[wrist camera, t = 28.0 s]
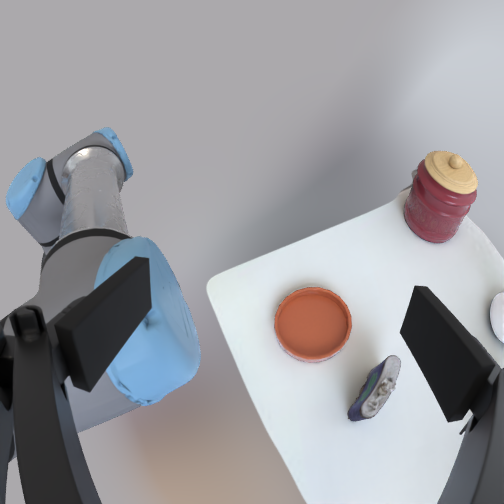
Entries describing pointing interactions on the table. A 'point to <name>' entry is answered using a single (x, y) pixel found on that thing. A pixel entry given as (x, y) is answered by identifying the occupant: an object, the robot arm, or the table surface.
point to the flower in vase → (498, 316)
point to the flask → (376, 389)
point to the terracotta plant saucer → (312, 324)
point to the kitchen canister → (440, 196)
